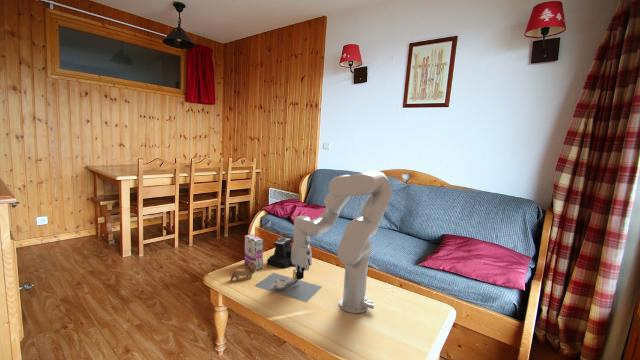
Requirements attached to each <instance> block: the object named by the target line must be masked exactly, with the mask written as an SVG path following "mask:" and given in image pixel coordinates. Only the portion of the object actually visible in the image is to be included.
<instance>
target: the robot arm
mask: <svg viewBox="0 0 640 360" xmlns="http://www.w3.org/2000/svg"><path fill="white" fill-rule="evenodd" d="M328 191H329V192H328V193H327V195H326V196H325V198H324V200H323V203H324V205H325V209H324V210H323V212H322V213H321V214H320V216H318V217H316V218H314V219H311V218H310V216H307V215H297V216H295V217H294V223H293V242H292V246H291V248H292V251H291V261H292V264H293V265H295V270H296V271H297V279H298V280H302V279H304V276H305V275H304V273H305V271H309V270H310V266H312V262H313V261H312V260H313V259H312V258H313V256H312V247H311V241H310V239H311V238H316V237H318V236H320V235H322V234H324V233H326V232H328V231H329V230H330V229H331V228H332V227H333V225H334V224H335V223H336V221H337V219H338V218H339V216H340V213H341V211H342V210H343V208H344V206H345V205H346V204H347V203H348V201H349V200H350V198H351V197H352V198H353V197H355V198H356V197H364V196H368V195H369V196H368V197H367V199H366V201H365V202H364V206H363V207H362V211H361V212H360V214H359V215H358V216H357V217H356V218H354V219H352V220H351V221H350V222H348V224H347V226H346V227H345V230H344V232H343V235H342V237H341V239H340V242H339V244H338V247H337V251H336V252H337V253H336V254H337V258H338V260H339V262H340V263H341V264H343V265H344V267H345V268H344V278H343V279H344V281H343V295H342V297H341V298H340V299H339V302H338V304H339V307H340V308H341V310H343V311H344V312H347V313H350V314H361V313H362V314H363V313H364V312H366V311H367V310H368V308H369V309H370V310H374V309H375V304H374V302H373V301H372V300H368V296H367V295H366V290H367V277H368V267H369V260H370V255H371V250H372V249H371V247H372V246H371V242H370V240H369V239H371V237H373V236H375V235H376V233H377V231H378V229H379V226H380V224H381V221H382V219H383V218H384V215H385V212H386V210H387V208H388V205H389V203H390V200H391V196H392V186H391V183H390V180H389V179H388V177H387V176H386V175H385V174H384V173H383V172H380V171H377V170H370V171H366V172H363V173H355V174H351V175H350V174H343V175H338V176H336V177H334V178H332V179H331V180H330V181H329V184H328Z"/></svg>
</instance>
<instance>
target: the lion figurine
mask: <svg viewBox="0 0 640 360" xmlns="http://www.w3.org/2000/svg"><path fill="white" fill-rule="evenodd" d="M256 267H257V264H256V262H255V261H251V262H249V265H248V266H247V265H246V267H245V268H236V269H234V270H233V271H232V273H231V275H230V281H229V283H232V281H233V280H234V279H235V281H236V283H238V282H239V279H240V277H246V278H249V279H250V280H251V279H252V276H253V274H255V273H256V271H257V270H256Z"/></svg>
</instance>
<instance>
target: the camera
mask: <svg viewBox="0 0 640 360" xmlns="http://www.w3.org/2000/svg"><path fill="white" fill-rule="evenodd" d="M291 243H294V239H293V240H292V238H286V237H283V236H281V237H279V238H278V239H277V241H274V242H273V245H272V246H273V247H275V249H274V253H273V254H272V255H271V256H269V257H268V258H267V260H266V264H267V266H271V267H279V268H284V269H286V268H288V267H295V265H293V264H292V261H291V251H292V246H291V245H292V244H291ZM295 268H296V267H295Z"/></svg>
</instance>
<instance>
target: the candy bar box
mask: <svg viewBox="0 0 640 360" xmlns="http://www.w3.org/2000/svg"><path fill="white" fill-rule="evenodd" d="M263 253H264V239H263V238H261V237H260V236H257V235H254V234H252V233H250V234H248V235H247V234H246V235H244V265H245V266H246V267H247V266H248V265H249V262H251V261H255V262H256V264H257V267H256V270H255V271H258V270H262V269H263V265H264V264H263V261H264V260H263V258H264V254H263Z"/></svg>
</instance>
